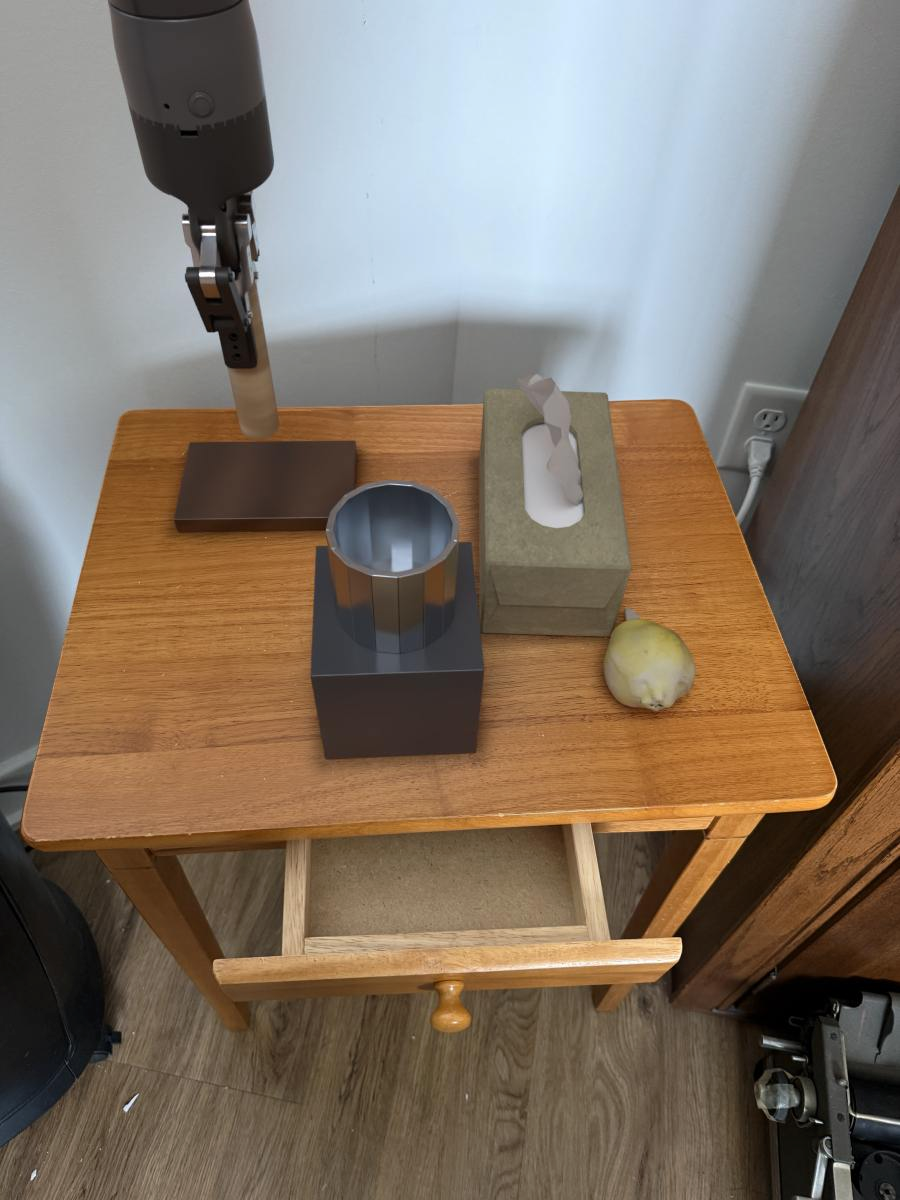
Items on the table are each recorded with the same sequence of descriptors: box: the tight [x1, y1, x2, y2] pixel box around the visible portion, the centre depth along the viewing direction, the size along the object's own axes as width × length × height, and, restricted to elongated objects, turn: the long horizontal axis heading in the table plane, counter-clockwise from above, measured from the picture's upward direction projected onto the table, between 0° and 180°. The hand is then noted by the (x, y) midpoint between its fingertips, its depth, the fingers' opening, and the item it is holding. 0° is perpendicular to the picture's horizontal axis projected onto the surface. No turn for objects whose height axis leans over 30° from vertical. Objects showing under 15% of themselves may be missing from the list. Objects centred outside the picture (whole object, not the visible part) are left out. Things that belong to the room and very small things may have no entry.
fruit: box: [603, 607, 697, 712], centre depth 62 cm, size 6×6×10 cm
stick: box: [226, 280, 281, 440], centre depth 64 cm, size 3×3×12 cm
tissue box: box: [478, 372, 633, 638], centre depth 65 cm, size 19×10×16 cm, turn 179°
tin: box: [325, 479, 461, 654], centre depth 51 cm, size 7×7×7 cm
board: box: [173, 440, 358, 533], centre depth 73 cm, size 14×9×2 cm, turn 92°
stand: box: [309, 541, 485, 760], centre depth 58 cm, size 10×10×10 cm
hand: (244, 348), depth 63 cm, fingers closed on stick, 3 cm apart
